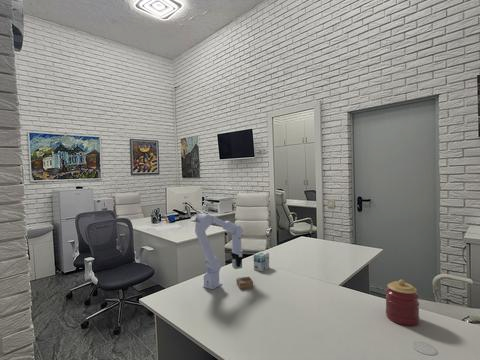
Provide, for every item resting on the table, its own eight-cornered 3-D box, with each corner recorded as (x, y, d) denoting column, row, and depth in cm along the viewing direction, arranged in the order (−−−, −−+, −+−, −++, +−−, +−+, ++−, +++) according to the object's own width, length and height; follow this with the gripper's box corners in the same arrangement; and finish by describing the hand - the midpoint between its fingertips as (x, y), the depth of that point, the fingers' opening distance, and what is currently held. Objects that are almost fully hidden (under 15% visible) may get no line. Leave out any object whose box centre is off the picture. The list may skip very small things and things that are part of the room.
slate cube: (242, 268, 169) (242, 260, 168) (234, 269, 167) (234, 261, 167) (239, 265, 173) (239, 258, 173) (232, 266, 172) (232, 259, 171)
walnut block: (253, 288, 155) (253, 281, 155) (239, 290, 153) (239, 283, 153) (249, 283, 163) (249, 276, 162) (236, 284, 161) (236, 278, 161)
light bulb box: (261, 271, 181) (261, 256, 181) (253, 269, 185) (253, 254, 185) (269, 267, 189) (269, 252, 189) (261, 265, 193) (261, 250, 193)
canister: (403, 329, 111) (402, 287, 111) (379, 313, 124) (378, 276, 123) (426, 323, 115) (426, 283, 115) (401, 309, 127) (400, 273, 127)
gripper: (246, 246, 164) (247, 267, 165) (238, 240, 178) (239, 261, 178) (236, 247, 162) (236, 269, 162) (228, 242, 176) (229, 262, 176)
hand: (237, 265), depth 170 cm, fingers closed on slate cube, 5 cm apart
